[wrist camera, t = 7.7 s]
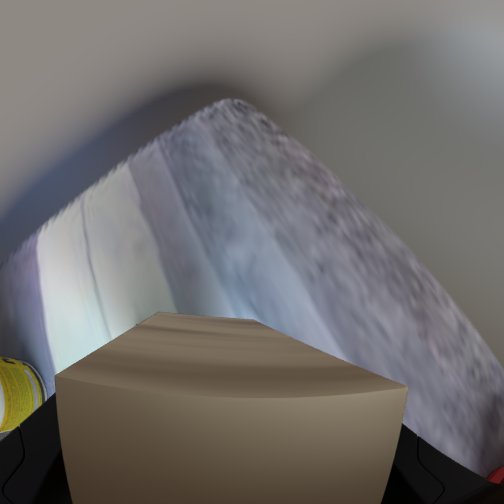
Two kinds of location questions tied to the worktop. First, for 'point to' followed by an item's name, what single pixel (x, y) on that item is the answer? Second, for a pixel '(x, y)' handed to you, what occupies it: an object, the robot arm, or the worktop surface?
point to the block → (224, 418)
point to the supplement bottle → (18, 392)
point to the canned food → (497, 476)
